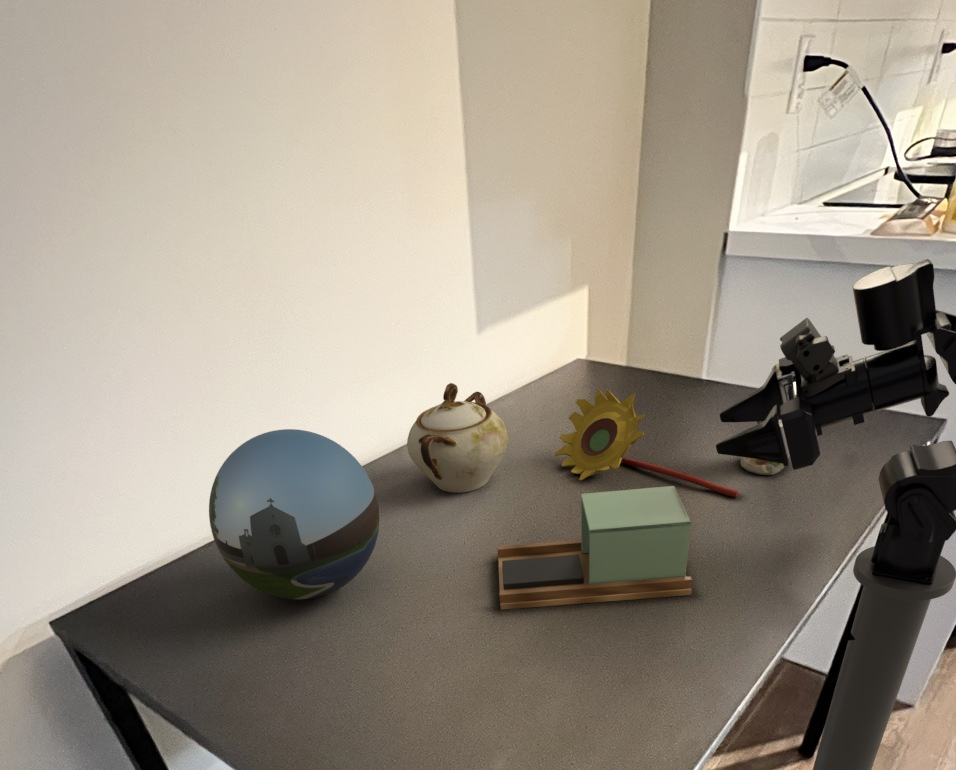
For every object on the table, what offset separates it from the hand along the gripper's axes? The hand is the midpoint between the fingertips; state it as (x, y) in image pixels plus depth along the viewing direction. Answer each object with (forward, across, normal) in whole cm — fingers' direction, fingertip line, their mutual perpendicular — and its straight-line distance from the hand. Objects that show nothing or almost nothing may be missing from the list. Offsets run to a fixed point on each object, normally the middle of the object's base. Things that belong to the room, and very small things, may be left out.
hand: (718, 432), depth 86 cm
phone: (+22, +12, +6) cm, 26 cm away
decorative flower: (+15, -17, +10) cm, 25 cm away
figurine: (-2, -21, +16) cm, 27 cm away
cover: (+12, +9, +9) cm, 18 cm away
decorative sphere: (+49, +18, -3) cm, 52 cm away
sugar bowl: (+40, -14, 0) cm, 42 cm away
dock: (+17, +11, +8) cm, 22 cm away
